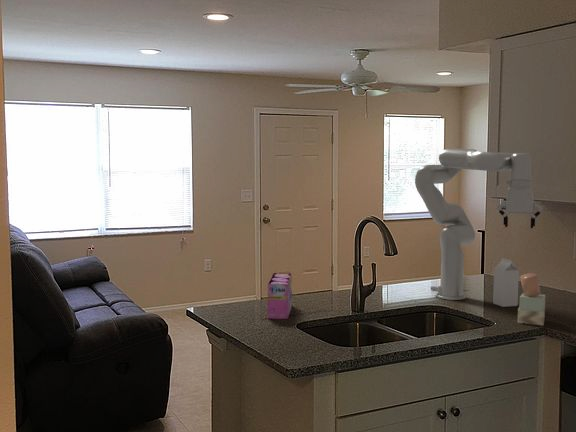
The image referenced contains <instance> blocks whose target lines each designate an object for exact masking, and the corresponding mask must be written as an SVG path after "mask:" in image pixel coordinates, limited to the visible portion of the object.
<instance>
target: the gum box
mask: <svg viewBox="0 0 576 432" xmlns="http://www.w3.org/2000/svg"><path fill="white" fill-rule="evenodd" d="M292 279H293V275H292V273H290V272H289V273H288V274H283V273H282V274H279V273H277V272H274V273H273V274H272V275H271V278H270V280H269V281H268V283H267V319H271V320H272V319H274V320H275V319H276V320H279V319H280V320H287V319H288V318H289V315H290V313H291V310H292V306H293V288H292V287H293V286H292V285H293V281H292Z"/></svg>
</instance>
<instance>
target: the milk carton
mask: <svg viewBox="0 0 576 432" xmlns="http://www.w3.org/2000/svg"><path fill="white" fill-rule="evenodd" d="M519 275H520V270H519V269H518V268H517V267H516V266H515V264H514V263H513V260H510V259H506V258H501V261H500V262H499V263H497V265H496V266H494V267H493V290H492V291H493V293H492V299H493V300H492V303H493V305H497V306H498V307H499V306H500V307H501V308H504V307H505V308H506V307H517V306H518V305H519V304H518V303H519V302H518V299H519V281H520V280H519V279H520V278H519ZM518 307H519V306H518Z"/></svg>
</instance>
